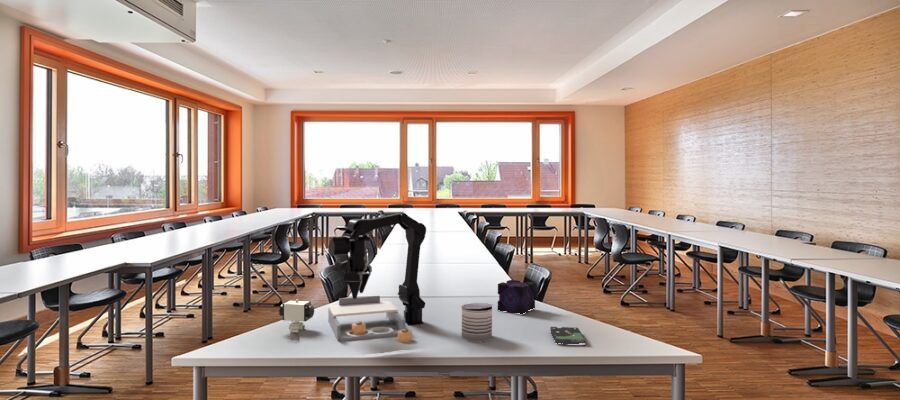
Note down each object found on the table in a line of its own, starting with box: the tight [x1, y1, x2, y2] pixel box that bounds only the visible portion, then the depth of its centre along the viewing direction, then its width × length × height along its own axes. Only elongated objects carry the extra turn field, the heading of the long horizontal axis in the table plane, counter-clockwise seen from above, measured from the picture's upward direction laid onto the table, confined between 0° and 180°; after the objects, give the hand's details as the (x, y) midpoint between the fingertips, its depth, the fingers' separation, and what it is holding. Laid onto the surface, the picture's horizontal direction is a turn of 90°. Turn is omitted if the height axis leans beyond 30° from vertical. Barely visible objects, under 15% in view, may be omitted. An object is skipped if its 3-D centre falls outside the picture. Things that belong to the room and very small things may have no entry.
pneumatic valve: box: [278, 298, 315, 334], centre depth 183 cm, size 6×12×12 cm, turn 83°
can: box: [460, 302, 494, 343], centre depth 178 cm, size 11×11×12 cm
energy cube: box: [497, 279, 536, 314], centre depth 217 cm, size 12×12×12 cm
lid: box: [328, 295, 399, 318], centre depth 190 cm, size 24×14×3 cm, turn 110°
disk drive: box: [549, 326, 587, 344], centre depth 177 cm, size 10×3×15 cm
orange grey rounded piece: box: [397, 328, 413, 343], centre depth 171 cm, size 5×5×5 cm
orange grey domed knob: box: [351, 320, 367, 335], centre depth 176 cm, size 5×5×5 cm
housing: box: [327, 307, 406, 342], centre depth 185 cm, size 24×27×6 cm
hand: (358, 295), depth 182 cm, fingers open, 9 cm apart
